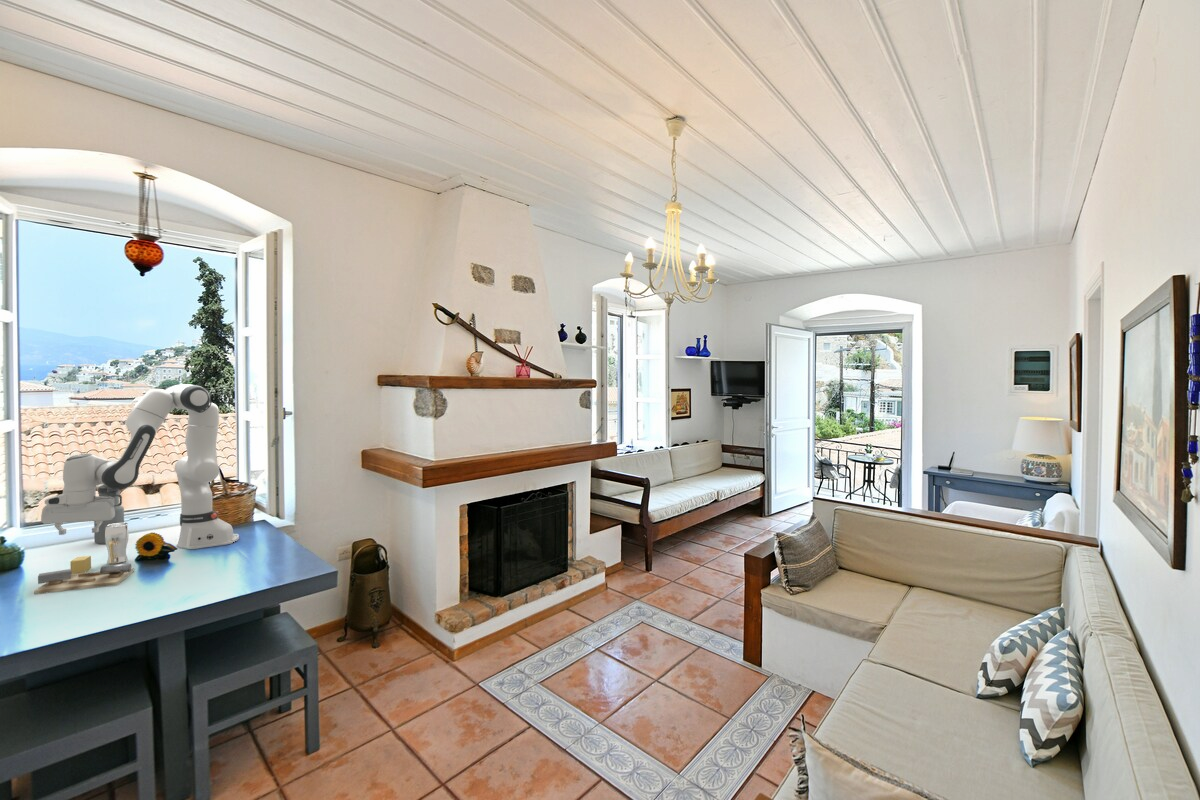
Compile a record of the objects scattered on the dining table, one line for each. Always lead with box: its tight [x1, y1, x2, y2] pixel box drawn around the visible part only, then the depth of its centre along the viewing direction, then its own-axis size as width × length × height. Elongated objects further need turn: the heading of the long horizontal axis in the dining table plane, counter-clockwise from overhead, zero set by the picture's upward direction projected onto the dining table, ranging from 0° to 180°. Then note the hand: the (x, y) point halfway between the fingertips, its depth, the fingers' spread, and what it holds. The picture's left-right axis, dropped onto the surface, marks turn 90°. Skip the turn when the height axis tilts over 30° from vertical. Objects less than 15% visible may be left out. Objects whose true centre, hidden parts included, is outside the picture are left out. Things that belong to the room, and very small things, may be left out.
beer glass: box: [105, 522, 130, 565], centre depth 208 cm, size 7×7×15 cm
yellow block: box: [70, 555, 92, 574], centre depth 198 cm, size 5×4×5 cm
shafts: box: [37, 563, 132, 585], centre depth 187 cm, size 24×5×3 cm, turn 114°
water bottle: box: [93, 484, 125, 545], centre depth 232 cm, size 10×10×28 cm
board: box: [33, 568, 134, 595], centre depth 188 cm, size 22×14×2 cm, turn 114°
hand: (79, 533), depth 197 cm, fingers open, 8 cm apart
